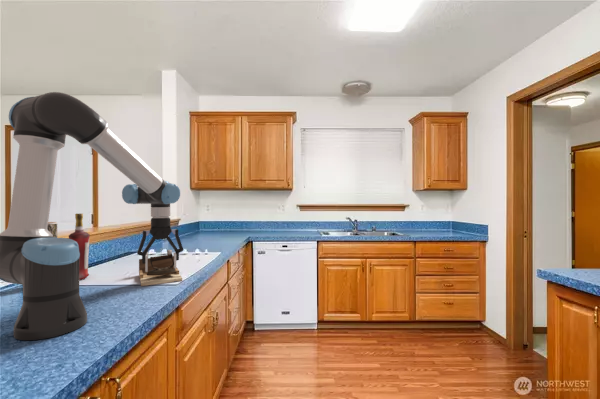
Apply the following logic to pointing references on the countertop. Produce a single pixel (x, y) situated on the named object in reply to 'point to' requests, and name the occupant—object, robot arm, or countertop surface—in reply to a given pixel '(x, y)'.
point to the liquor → (81, 246)
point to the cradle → (158, 278)
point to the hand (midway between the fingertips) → (161, 269)
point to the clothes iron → (161, 270)
